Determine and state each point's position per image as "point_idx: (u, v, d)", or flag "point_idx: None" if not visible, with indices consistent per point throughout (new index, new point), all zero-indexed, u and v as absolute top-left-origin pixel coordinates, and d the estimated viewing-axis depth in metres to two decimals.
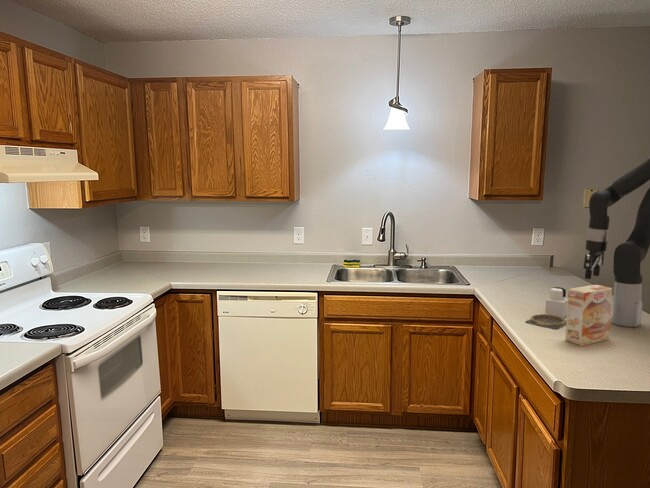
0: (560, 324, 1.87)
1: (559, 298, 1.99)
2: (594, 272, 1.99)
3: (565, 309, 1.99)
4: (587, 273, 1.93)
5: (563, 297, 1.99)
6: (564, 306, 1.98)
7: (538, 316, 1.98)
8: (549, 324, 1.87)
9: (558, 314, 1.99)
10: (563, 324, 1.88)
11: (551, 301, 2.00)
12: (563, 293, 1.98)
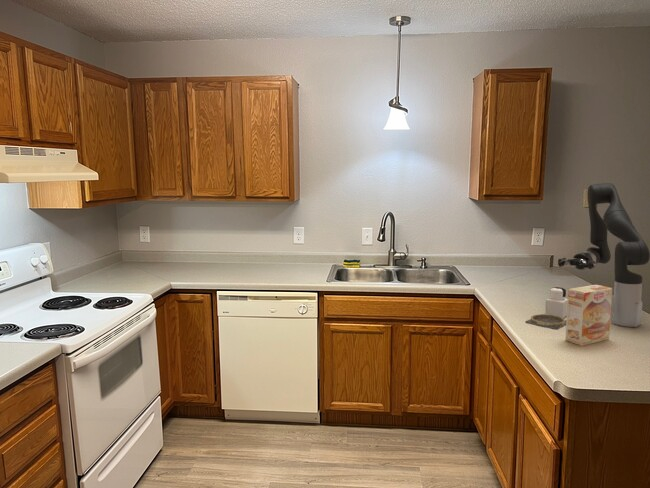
0: (560, 324, 1.87)
1: (559, 298, 1.99)
2: None
3: (565, 309, 1.99)
4: None
5: (563, 297, 1.99)
6: (564, 306, 1.98)
7: (538, 316, 1.98)
8: (549, 324, 1.87)
9: (558, 314, 1.99)
10: (563, 324, 1.88)
11: (551, 301, 2.00)
12: (563, 293, 1.98)
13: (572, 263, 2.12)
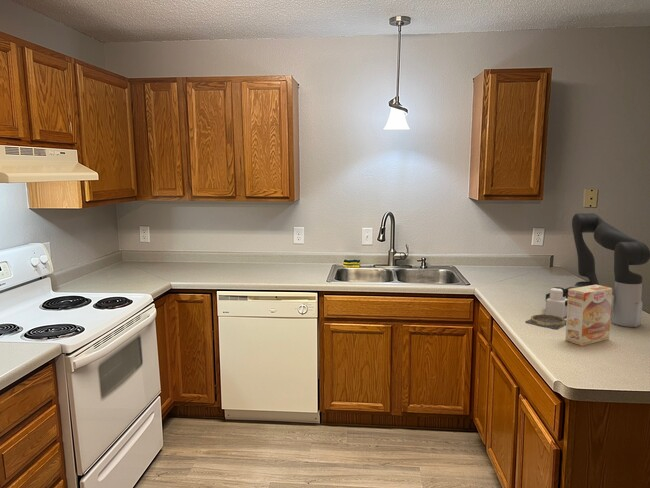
0: (560, 324, 1.87)
1: (559, 298, 1.99)
2: None
3: (565, 309, 1.99)
4: None
5: (563, 297, 1.99)
6: (564, 306, 1.98)
7: (538, 316, 1.98)
8: (549, 324, 1.87)
9: (558, 314, 1.99)
10: (563, 324, 1.88)
11: (551, 301, 2.00)
12: (563, 293, 1.98)
13: None
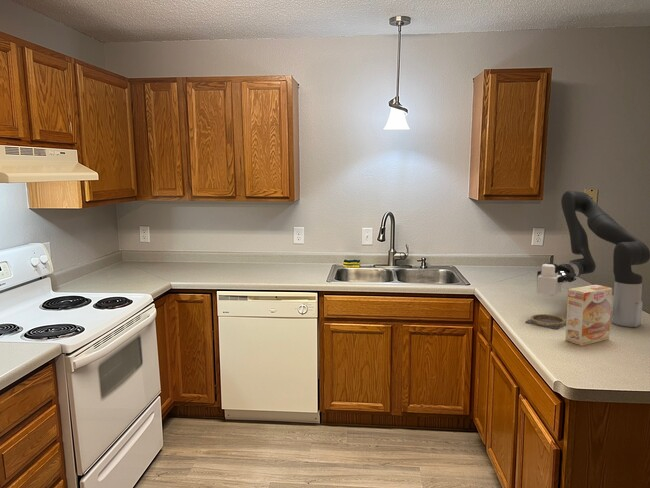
0: (560, 324, 1.87)
1: (551, 274, 1.87)
2: None
3: (557, 286, 1.88)
4: None
5: (555, 273, 1.87)
6: (556, 283, 1.86)
7: (538, 316, 1.98)
8: (549, 324, 1.87)
9: (550, 291, 1.87)
10: (563, 324, 1.88)
11: (543, 278, 1.89)
12: (555, 269, 1.87)
13: None
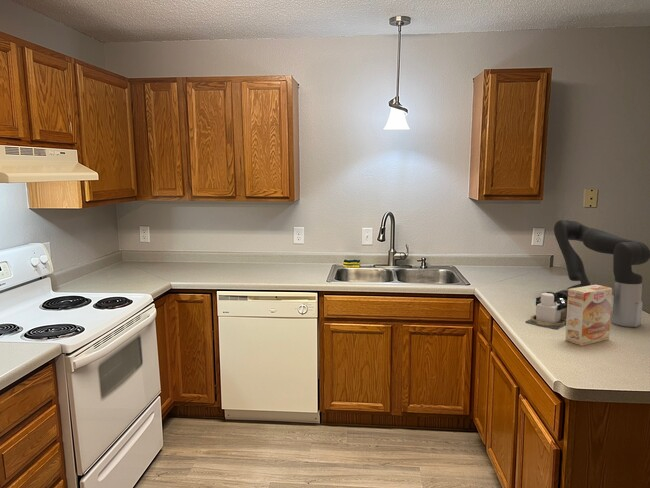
0: (560, 324, 1.87)
1: (550, 303, 1.89)
2: None
3: (556, 315, 1.89)
4: None
5: (554, 302, 1.89)
6: (555, 312, 1.88)
7: None
8: (549, 324, 1.87)
9: (549, 320, 1.89)
10: (563, 324, 1.88)
11: (542, 306, 1.90)
12: (554, 298, 1.89)
13: None
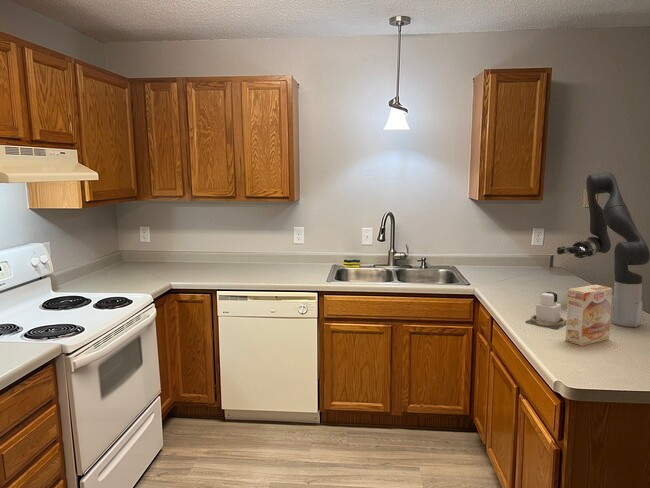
0: (560, 324, 1.87)
1: (550, 303, 1.89)
2: None
3: (556, 315, 1.89)
4: None
5: (554, 302, 1.89)
6: (555, 312, 1.88)
7: None
8: (549, 324, 1.87)
9: (549, 320, 1.89)
10: (563, 324, 1.88)
11: (542, 306, 1.90)
12: (554, 298, 1.89)
13: (571, 251, 2.10)
